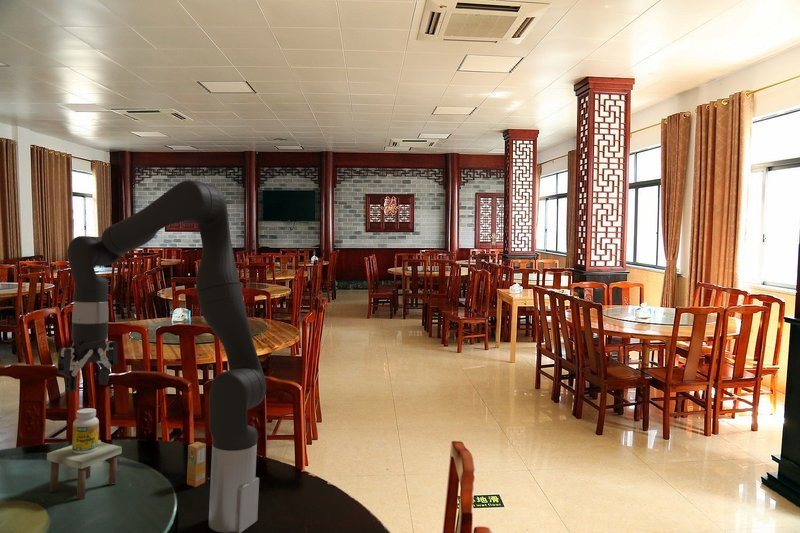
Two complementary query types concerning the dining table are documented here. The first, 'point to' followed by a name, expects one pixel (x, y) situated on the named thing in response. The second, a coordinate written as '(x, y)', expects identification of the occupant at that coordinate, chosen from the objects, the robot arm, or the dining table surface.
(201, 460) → the supplement box
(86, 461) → the stool
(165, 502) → the dining table surface
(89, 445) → the supplement bottle
